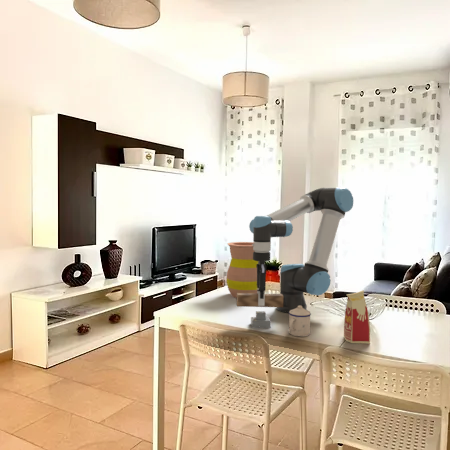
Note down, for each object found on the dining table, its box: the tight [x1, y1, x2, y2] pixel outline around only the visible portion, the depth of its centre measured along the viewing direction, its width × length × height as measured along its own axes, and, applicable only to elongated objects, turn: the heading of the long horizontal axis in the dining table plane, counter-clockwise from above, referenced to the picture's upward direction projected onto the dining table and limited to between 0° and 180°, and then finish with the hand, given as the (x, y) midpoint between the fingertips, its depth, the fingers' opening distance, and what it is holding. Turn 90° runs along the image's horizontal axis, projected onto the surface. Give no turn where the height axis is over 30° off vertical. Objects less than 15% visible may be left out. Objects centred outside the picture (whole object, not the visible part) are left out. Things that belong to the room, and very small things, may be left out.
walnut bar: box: [236, 293, 283, 308], centre depth 190 cm, size 20×4×5 cm, turn 94°
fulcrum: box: [250, 310, 272, 329], centre depth 190 cm, size 8×6×6 cm
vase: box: [226, 241, 258, 299], centre depth 247 cm, size 22×22×30 cm
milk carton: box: [343, 289, 371, 345], centre depth 172 cm, size 9×9×20 cm
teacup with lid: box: [288, 305, 312, 337], centre depth 178 cm, size 12×9×12 cm
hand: (260, 304), depth 190 cm, fingers closed on walnut bar, 4 cm apart
